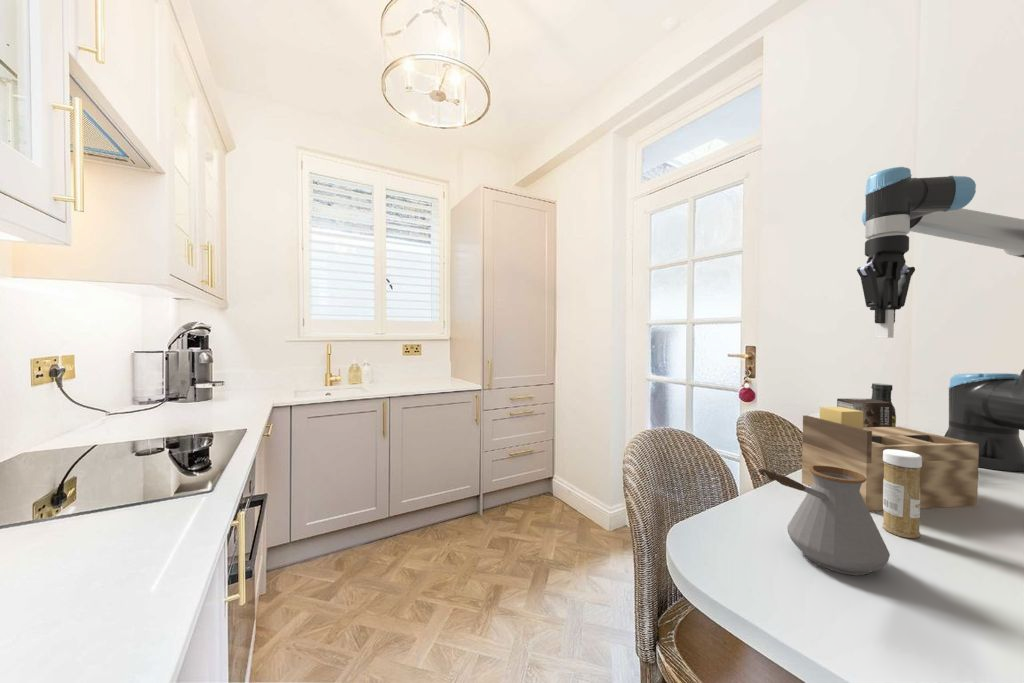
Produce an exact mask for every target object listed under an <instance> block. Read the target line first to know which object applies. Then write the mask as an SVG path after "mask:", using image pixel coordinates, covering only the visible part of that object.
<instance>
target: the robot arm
mask: <svg viewBox="0 0 1024 683" xmlns="http://www.w3.org/2000/svg"><path fill="white" fill-rule="evenodd" d="M912 176H913V174H912V172H911V169H910V168H909V167H905V166H897V167H896V166H895V167H890V168H885V169H882V170H879V171H876V172H875V173H873V174H871V175H870V176H868V179H867V180H866V185H865V194H864V197H865V210H864V211H863V213H862V215H861V221H862V223H863V224H862V225H864V227H865V239H866V241H865V242H864V256H865V257H868V258H867V260H866V263H865V265H864V266H863V265H862V266H859V267H857V268H856V272H857V273H858V275H859V278H860V281H861V287H862V291H863V297H864V301H865V307H866V308H869V310H870V311H874V323H875V338H877V339H878V338H885V339H886V338H887V339H888V338H889V339H891V338H894V335H895V334H894V331H895V330H894V328H895V327H894V325H895V322H896V311H897V310H901V309H902V307H904V306H905V304H906V301H907V297H908V291H909V288H910V283H911V279H912V276H913V274H914V273H915V271H916V268H915V267H914V266H910V267H909V266H908V265H907V264H906V259H905V254H906V253H908V252H909V250H910V237H909V235H908V234H909V233H910V232H912V233H916V234H923V235H927V236H933V237H939V238H943V239H948V240H954V241H958V242H959V241H960V242H963V243H969V244H973V245H980V246H983V247H984V246H985V247H990V248H994V249H995V248H996V249H1000V250H1003V251H1004V252H1005V254H1007V255H1009V256H1014V257H1017V258H1023V259H1024V218H1018V217H1012V216H1007V215H1001V214H995V213H989V212H986V211H985V212H984V211H980V210H979V211H978V210H975V209H974V210H973V209H968V208H965V207H966V206H967V205H969V204H970V203H971V202H972V201H973V199H974V197H975V194H976V189H977V184H976V181H975V180H974V179H973V178H971V177H969V176H967V175H966V176H964V175H962V176H961V175H958V176H957V175H948V176H931V177H912ZM947 389H948V427H947V430H946V432H945V434H944V435H943V436H944V437H949V438H954V439H958V440H963V441H967V442H972V443H977V444H979V457H978V468H984V469H990V470H998V471H1008V472H1024V444H1023V442H1022V440H1021V438H1020V430H1021V431H1024V368H1023V369H1022V370H1021V373H1020V374H1019V373H1007V372H1006V373H1003V372H1001V373H998V372H997V373H996V372H995V373H993V372H992V373H991V372H990V373H986V372H985V373H957V374H954V375H952V376H951V377H950V380H949V386H948V388H947Z"/></svg>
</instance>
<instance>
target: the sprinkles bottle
mask: <svg viewBox="0 0 1024 683" xmlns="http://www.w3.org/2000/svg"><path fill="white" fill-rule="evenodd" d="M883 461H884V479H883V509H884V510H883V522H882V524H881V525H882V528H883V529H884V530H885V531H887V532H889V533H891V534H893V535H895V536H898V537H902V538H907V539H917V538H920V536H921V532H920V516H921V508H920V469H921V467H922V457H921V456H920V455H919V454H916V453H913V452H908V451H903V450H894V449H887V450H884V451H883Z"/></svg>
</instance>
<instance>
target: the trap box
mask: <svg viewBox="0 0 1024 683" xmlns="http://www.w3.org/2000/svg"><path fill="white" fill-rule="evenodd" d="M944 436H945V435H940V434H935V433H930V432H927V431H921V430H917V429H912V428H907V427H902V426H896V427H863V429H861V428H857V427H853V426H848V425H844V424H840V423H836V422H832V421H828V420H824V419H820V417H814V416H811V415H802V445H801V446H802V447H801V448H802V450H801V451H802V453H801V455H802V456H801V464H802V465H801V484H803V485H805V486H808V487H810V488H811V487H812V485H813V484H814V478H813V474H812V473H811V472H810V471H809V467H810V466H811V465H823V466H833V467H839V468H844V469H848V470H851V471H854V472H857V473H860V474H862V475H863V476H865V478H866V481H865V482H864V483H862V485H861V488H860V493H861V496H862V498H863V500H864V502H865V504H866V506H867V508H868V510H869V512H873V511H875V512H876V511H884V509H883V479H884V461H883V451H884V450H887V449H894V450H903V451H908V452H913V453H916V454H919V455H920V456H921V457H922V467H921V469H920V509H935V508H953V507H956V508H957V507H960V508H961V507H977V506H978V496H979V495H978V491H979V489H978V488H979V487H978V486H979V467H978V457H979V444H977V443H972V442H967V441H963V440H958V439H954V438H949V437H944Z"/></svg>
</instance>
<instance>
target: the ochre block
mask: <svg viewBox="0 0 1024 683" xmlns="http://www.w3.org/2000/svg"><path fill="white" fill-rule="evenodd" d="M819 418H820V419H824V420H828V421H832V422H836V423H840V424H844V425H848V426H853V427H857V428H861V429H863V411H859V410H854V409H849V408H844V407H837V406H823V407H821V406H820V407H819Z"/></svg>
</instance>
